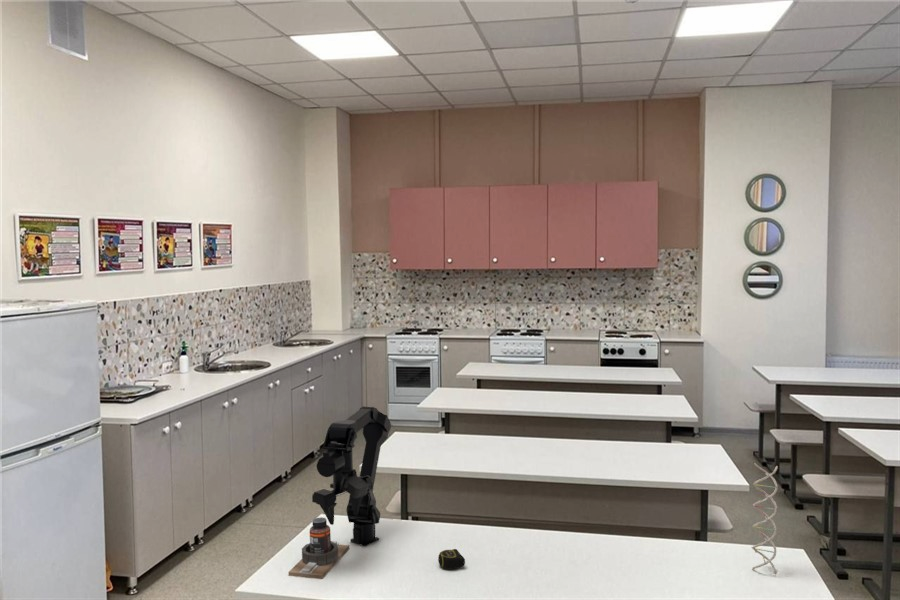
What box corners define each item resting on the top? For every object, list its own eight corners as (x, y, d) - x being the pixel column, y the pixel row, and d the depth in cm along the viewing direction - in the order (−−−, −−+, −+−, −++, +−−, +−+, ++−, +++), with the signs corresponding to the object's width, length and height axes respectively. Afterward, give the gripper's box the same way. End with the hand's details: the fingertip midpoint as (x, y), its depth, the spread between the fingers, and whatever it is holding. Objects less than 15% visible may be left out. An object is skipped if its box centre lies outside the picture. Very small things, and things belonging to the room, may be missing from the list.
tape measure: (465, 569, 197) (465, 556, 197) (442, 573, 195) (442, 560, 195) (458, 559, 204) (458, 546, 203) (435, 562, 202) (435, 550, 201)
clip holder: (318, 545, 214) (318, 533, 214) (349, 548, 212) (349, 535, 211) (288, 575, 195) (288, 561, 194) (322, 578, 192) (321, 564, 192)
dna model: (777, 569, 194) (779, 462, 192) (776, 578, 189) (778, 469, 187) (751, 564, 198) (753, 459, 196) (749, 573, 192) (750, 465, 190)
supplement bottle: (329, 552, 207) (329, 514, 206) (332, 560, 201) (331, 522, 200) (309, 555, 205) (308, 517, 204) (311, 563, 200) (310, 524, 199)
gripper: (337, 480, 190) (338, 536, 191) (385, 463, 204) (386, 516, 205) (310, 472, 197) (311, 527, 198) (358, 457, 211) (359, 507, 212)
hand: (343, 519), depth 203 cm, fingers open, 9 cm apart
